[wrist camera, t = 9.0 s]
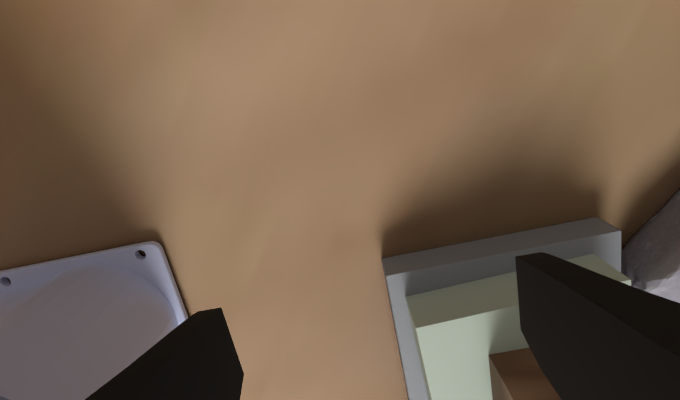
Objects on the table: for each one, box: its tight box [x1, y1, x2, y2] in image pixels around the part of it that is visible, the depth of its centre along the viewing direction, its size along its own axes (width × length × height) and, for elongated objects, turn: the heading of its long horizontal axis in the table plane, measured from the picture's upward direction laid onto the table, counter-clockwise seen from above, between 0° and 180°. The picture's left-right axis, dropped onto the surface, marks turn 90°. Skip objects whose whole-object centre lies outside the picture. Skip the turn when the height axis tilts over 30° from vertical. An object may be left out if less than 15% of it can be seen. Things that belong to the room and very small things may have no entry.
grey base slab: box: [382, 217, 621, 400], centre depth 22 cm, size 11×11×2 cm
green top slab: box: [405, 254, 631, 400], centre depth 19 cm, size 9×9×2 cm
